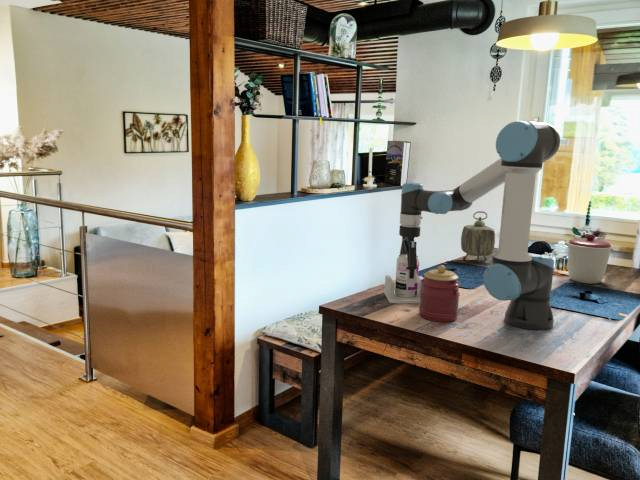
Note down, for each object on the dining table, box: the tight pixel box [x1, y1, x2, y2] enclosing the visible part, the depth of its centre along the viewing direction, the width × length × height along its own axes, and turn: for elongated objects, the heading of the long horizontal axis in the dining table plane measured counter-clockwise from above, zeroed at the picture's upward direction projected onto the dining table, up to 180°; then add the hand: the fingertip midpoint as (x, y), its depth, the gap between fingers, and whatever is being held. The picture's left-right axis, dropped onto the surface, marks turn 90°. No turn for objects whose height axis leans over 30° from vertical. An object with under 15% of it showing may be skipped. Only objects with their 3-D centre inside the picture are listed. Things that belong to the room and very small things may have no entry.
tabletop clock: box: [460, 210, 496, 264], centre depth 272 cm, size 14×9×25 cm, turn 94°
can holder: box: [383, 274, 425, 305], centre depth 207 cm, size 14×14×7 cm
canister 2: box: [566, 232, 614, 285], centre depth 240 cm, size 18×18×21 cm
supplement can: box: [394, 254, 420, 298], centre depth 206 cm, size 8×8×15 cm
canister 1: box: [418, 264, 461, 323], centre depth 186 cm, size 13×13×18 cm
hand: (406, 282), depth 207 cm, fingers open, 13 cm apart
